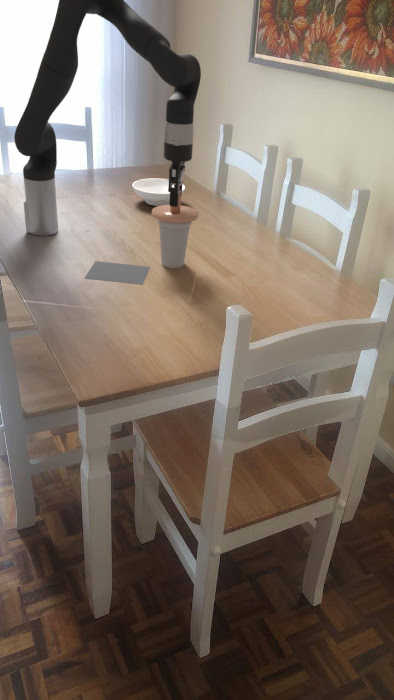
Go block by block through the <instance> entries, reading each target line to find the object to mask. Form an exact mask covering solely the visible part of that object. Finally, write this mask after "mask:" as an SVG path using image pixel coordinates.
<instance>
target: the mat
mask: <svg viewBox="0 0 394 700" xmlns="http://www.w3.org/2000/svg"><path fill="white" fill-rule="evenodd" d="M150 268H151V266H147V265H137V264H129V263H128V264H127V263H117V262H108V261H98V260H95V261H94V263H93V264H92V266H91V267H90V268H89V270H88V271H87V273H86V275H85V277H84V279H86V280H87V279H88V280H96V281H105V282H116V283H124V284H125V283H126V284H135V285H144V282H145V280H146V278H147V275H148V273H149V270H150Z"/></svg>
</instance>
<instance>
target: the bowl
mask: <svg viewBox="0 0 394 700" xmlns="http://www.w3.org/2000/svg"><path fill="white" fill-rule="evenodd" d="M172 187H173V188H174V185H172ZM132 189H133V191H134V192H135V194H136V195H137V196H139V197H140V198H142V199H143V201H144V202H145V203H146V204H147V205H150V206H154V207H158V206H162V205H169V203H170V192H168V189H169V178H156V177H155V178H154V177H153V178H151V177H150V178H143V179H138V180H136V181H134V182H133V183H132ZM185 189H186V186H185V184H184V183H182V195H183V194H184V192H185Z"/></svg>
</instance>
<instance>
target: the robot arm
mask: <svg viewBox="0 0 394 700" xmlns="http://www.w3.org/2000/svg"><path fill="white" fill-rule="evenodd" d="M86 15H97V16H99V17H101V18H103V19H105V20H106V21H107V22H109V23H111V24H112V25H113V26H114V27H115V28H116V29H117V30H118V31H119V33H120V34H121V36H122V37H123V39H124V40H125V42H126V43H127V45H129V46H130V48H131V49H132V50H133V51H134V52H136V54H138V55H139V56H140V57H142V58H143V59H144V60H145V61H147V62H148V63H149V64H150V65H151V67H152V68H153V70H154V71H155V72H156V73H157V75H158V76H159V77H160V79H161V80H163V81H164V83H166V84H168V85H169V86H171V87H173V88H174V89H173V93H172V95H171V96H170V97H168V99H167V101H166V107H165V108H166V111H165V112H166V113H165V124H164V125H165V126H164V131H163V132H164V133H163V135H164V136H163V138H164V139H163V158H164V159H165V160H167V161H170V162H171V164H170V165H169V168H168V180H169V189H168V192H170V203H169V205H170V206H172V207H177V206H178V193H179V190H181V197H182V195H183V194H182V184H184V179H185V174H186V162H189V161H191V160H192V159H193V144H194V115H195V114H194V112H195V109H194V107H195V102H196V100H197V95H198V92H199V88H200V83H201V75H202V71H201V65H200V62H199V60H198V58H197V57H195V55H193V54H189V53H187V54H185V53H184V54H178V53H176V52H175V51H174V50H172V48H171V43H170V41H169V39H167V37H166V36H165V35H164V34H162V33H161V32H160V31H158V30H157V29H156V28H155V27H154V26H153V25H152V24H150V23H149V22H147V21H146V19H144V18H143V17H142V16H141V15H139V14H138V12H137V11H135V10H134V9H133V8H132V7H131V6H130V5H129V4H128V2H126V1H125V0H59V1H58V4H57V9H56V14H55V18H54V21H53V25H52V28H51V31H50V35H49V38H48V41H47V45H46V47H45V51H44V53H43V56H42V58H41V62H40V64H39V68H38V70H37V75H36V78H35V81H34V83H33V87H32V89H31V91H30V95H29V98H28V101H27V104H26V106H25V109H24V111H23V113H22V115H21V117H20V119H19V122H18V123H17V126H16V128H15V130H14V131H15V132H14V139H13V140H14V144H15V147H16V150H17V151H18V152H19V153H20V154H21V155H22V156H25V157H29V158H28V161H27V162H26V164H25V165H24V166H23V169H22V173H23V185H24V195H25V201H24V202H23V210H24V211H23V212H24V220H25V221H24V222H25V223H24V224H25V231H26V233H29V234H31V235H33V236H42V237H44V236H45V237H46V236H47V237H48V236H52V235H55V234H57V233H58V232H59V221H58V203H57V189H56V188H57V187H56V177H55V176H56V175H55V174H56V173H55V172H56V168H57V166H58V161H57V160H58V158H57V157H58V154H57V153H58V152H57V147H58V146H57V137H56V132H55V130H54V128H53V126H52V125H51V124H50V122H49V121H50V118H51V117H52V115H53V113H54V112H55V111H56V110H57V108H58V107H59V106H60V104H61V103H62V102H63V100H64V99H66V96H67V95H68V93H69V92H70V90H71V88H72V85H73V83H74V80H75V77H76V75H77V72H78V67H79V52H78V50H79V49H78V37H79V33H80V31H81V27H82V24H83V21H84V20H85V17H86ZM172 185H174V188H173V187H172Z"/></svg>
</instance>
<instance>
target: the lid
mask: <svg viewBox="0 0 394 700" xmlns="http://www.w3.org/2000/svg"><path fill="white" fill-rule="evenodd" d="M181 202H182V196H181V190H179V193H178V206H177V207H172V206H170V205H162V206H154V207H153V208H152V209H151V216H152V217H153V218H154V219H156V220H157V221H158V220H161V221H165V222H171V223H187V222H194V221H197V220H198V219H199V212H198V210H196V209H195V208H193V207H189V206H186V205H182V203H181Z"/></svg>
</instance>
